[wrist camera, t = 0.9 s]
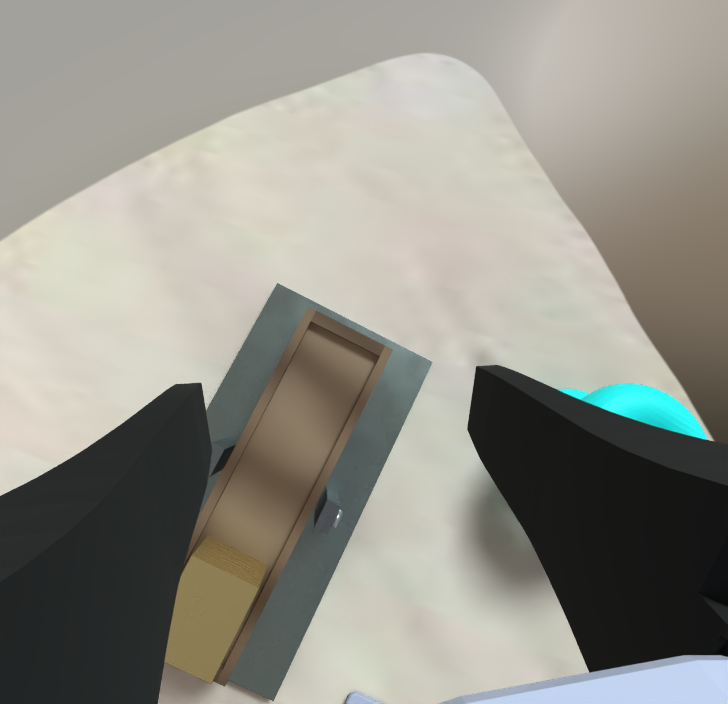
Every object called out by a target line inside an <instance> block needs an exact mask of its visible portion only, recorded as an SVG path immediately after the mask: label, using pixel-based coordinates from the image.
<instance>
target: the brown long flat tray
mask: <svg viewBox="0 0 728 704" xmlns="http://www.w3.org/2000/svg"><path fill="white" fill-rule="evenodd" d="M392 351H393V349H391V348H389V347H387V346H385V345H383V344H381V343H379V342H377V341H375V340H373V339H371V338H369V337H367V336H365V335H363V334H361V333H359V332H357V331H355V330H353V329H351V328H349V327H347V326H346V325H344V324H342V323H340V322H338V321H336V320H334V319H332V318H330V317H328V316H326V315H324V314H322V313H320V312H318V311H316V310H314V309H312V308H310V307H308V308H307V309H306V311H305V313H304V315H303V317H302V319H301V321H300V323H299V325H298V327H297V329H296V331H295V333H294V334H293V336H292V338H291V340H290V342H289V344H288V346H287V348H286V350H285V352H284V354H283V356H282V358H281V359H280V361H279V363H278V365H277V367H276V369H275V371H274V373H273V375H272V377H271V379H270V381H269V383H268V385H267V386H266V388H265V390H264V392H263V394H262V396H261V398H260V400H259V402H258V404H257V406H256V408H255V410H254V411H253V413H252V415H251V417H250V419H249V421H248V423H247V425H246V427H245V429H244V431H243V433H242V435H241V437H240V438H239V440H238V442H237V444H236V446H235V448H234V450H233V452H232V454H231V456H230V458H229V460H228V462H227V463H226V465H225V467H224V469H223V471H222V473H221V475H220V477H219V479H218V481H217V483H216V485H215V487H214V489H213V490H212V492H211V494H210V496H209V498H208V500H207V502H206V504H205V506H204V508H203V510H202V512H201V514H200V515H199V517H198V519H197V522H196V525H195V528H194V532H193V535H192V538H191V542H190V545H189V549H188V552H187V555H186V559H185V562H184V565H183V569H182V573H183V571H184V569H185V567H186V565H187V563H188V562H189V560H190V558H191V556H192V554H193V553H194V552H195V551H196V549H197V548H198V547H199V546H200V544H201V543H202V542H203V541H204V540H205V538H206V537H207V536H209V537H211V538H213V539H216V540H218V541H220V542H222V543H224V544H226V545H228V546H230V547H232V548H234V549H236V550H238V551H240V552H242V553H244V554H246V555H248V556H250V557H252V558H254V559H256V560H259V561H261V562H263V563H265V564H267V565H268V566H267V568H266V571H265V574H264V576H263V579H262V582H261V584H260V587H259V589H258V591H257V593H256V595H255V597H254V599H253V601H252V603H251V605H250V607H249V609H248V611H247V613H246V615H245V617H244V619H243V621H242V623H241V625H240V627H239V629H238V631H237V633H236V635H235V637H234V639H233V641H232V643H231V645H230V647H229V649H228V651H227V653H226V655H225V657H224V659H223V661H222V663H221V665H220V667H219V669H218V671H217V673H216V675H215V677H214V679H213V681H214V682H216V683H219V684H221V685H223V686H225V685H226V683H227V681H228V679H229V677H230V675H231V673H232V671H233V669H234V667H235V665H236V663H237V661H238V659H239V657H240V655H241V653H242V651H243V649H244V647H245V645H246V643H247V641H248V639H249V637H250V635H251V633H252V631H253V629H254V627H255V625H256V623H257V621H258V619H259V617H260V615H261V613H262V611H263V609H264V607H265V605H266V603H267V601H268V599H269V597H270V595H271V593H272V591H273V589H274V587H275V585H276V583H277V581H278V579H279V577H280V575H281V573H282V571H283V569H284V567H285V565H286V563H287V561H288V559H289V557H290V555H291V553H292V551H293V549H294V547H295V545H296V543H297V541H298V539H299V537H300V535H301V533H302V531H303V529H304V527H305V525H306V523H307V521H308V519H309V517H310V515H311V513H312V511H313V509H314V507H315V505H316V503H317V501H318V499H319V497H320V495H321V493H322V491H323V489H324V487H325V485H326V483H327V481H328V479H329V477H330V475H331V473H332V471H333V469H334V467H335V465H336V463H337V461H338V459H339V457H340V455H341V453H342V451H343V449H344V447H345V445H346V443H347V441H348V439H349V437H350V435H351V433H352V431H353V429H354V427H355V425H356V423H357V421H358V419H359V417H360V415H361V413H362V411H363V409H364V407H365V405H366V403H367V401H368V399H369V397H370V395H371V393H372V391H373V389H374V387H375V385H376V383H377V381H378V379H379V377H380V375H381V373H382V371H383V369H384V367H385V365H386V363H387V361H388V359H389V357H390V355H391V353H392ZM182 573H181V575H182Z"/></svg>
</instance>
